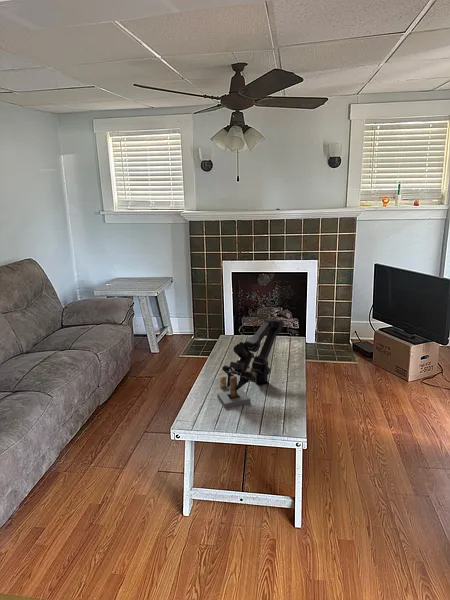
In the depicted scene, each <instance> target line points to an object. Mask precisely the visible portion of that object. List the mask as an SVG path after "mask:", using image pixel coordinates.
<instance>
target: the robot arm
mask: <svg viewBox="0 0 450 600" xmlns="http://www.w3.org/2000/svg"><path fill="white" fill-rule="evenodd" d="M284 324H285V323H284V322H283V320H281V319H276V318H270V319H264V320H263V322H262V324H261V326H260V327H259V328H258V329H257V330H256V332H255V333H254V334H253V335H252V336H250V337H248V338H247V339H246V340H245V342H242V341H239V343H237V344H235V346H234V347H233V352H234V354H235V355H236V356H237V357H238V358H240V360H239V359H237V360H236V362H235V361H230V362H229V363H230V364H229V365H224V366H222V368H221V370H222V371H223V372H224V373H225V374H226V375H227V380H226V386H227V387H226V388H230V377H231V376H234V375H237V376H239V381H238V382H237V387H236V390H238V389H242V387H243V386H244V385H246V384H247V383H250V382H251V383H256V384H257V385H258V386H262V385H268V384H270V382H269V380H268V377H269V376H268V375H270V374H271V373H270V372H271V368H270V367H269V361H268V358H269V356H270V353H271V350H272V348H273V345H274V342H275V341H276V338H277V335H279V334H280V333H281V332H282V330H283V329H284V326H285V325H284ZM264 338H265V340H264V342H263V344H262V343H261V342H262V341H263V339H264ZM261 344H262V345H261ZM261 346H262V347H261ZM260 347H261V350H260ZM259 350H260V352H259V355H254V353H257V352H258V351H259ZM251 359H252V368H251V370H252V372H253V373H255V374H253V373H250V372H246V370H247V368H249V364H250V362H251Z"/></svg>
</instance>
